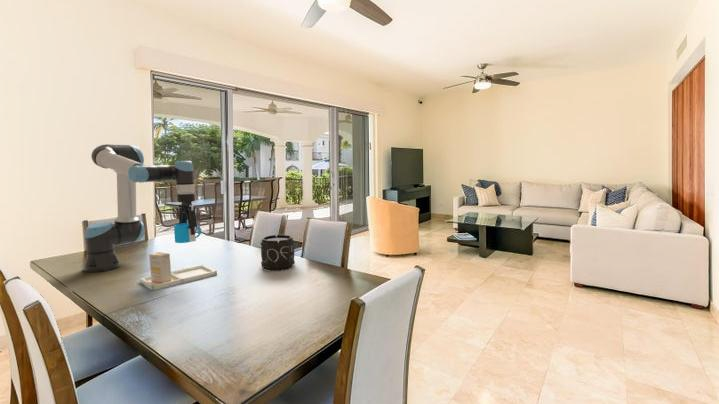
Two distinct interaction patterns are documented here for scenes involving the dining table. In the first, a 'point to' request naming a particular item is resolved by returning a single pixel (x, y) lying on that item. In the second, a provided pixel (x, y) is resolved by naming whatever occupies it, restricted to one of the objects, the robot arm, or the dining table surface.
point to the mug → (183, 232)
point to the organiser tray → (180, 277)
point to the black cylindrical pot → (277, 252)
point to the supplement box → (160, 267)
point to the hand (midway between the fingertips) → (188, 240)
